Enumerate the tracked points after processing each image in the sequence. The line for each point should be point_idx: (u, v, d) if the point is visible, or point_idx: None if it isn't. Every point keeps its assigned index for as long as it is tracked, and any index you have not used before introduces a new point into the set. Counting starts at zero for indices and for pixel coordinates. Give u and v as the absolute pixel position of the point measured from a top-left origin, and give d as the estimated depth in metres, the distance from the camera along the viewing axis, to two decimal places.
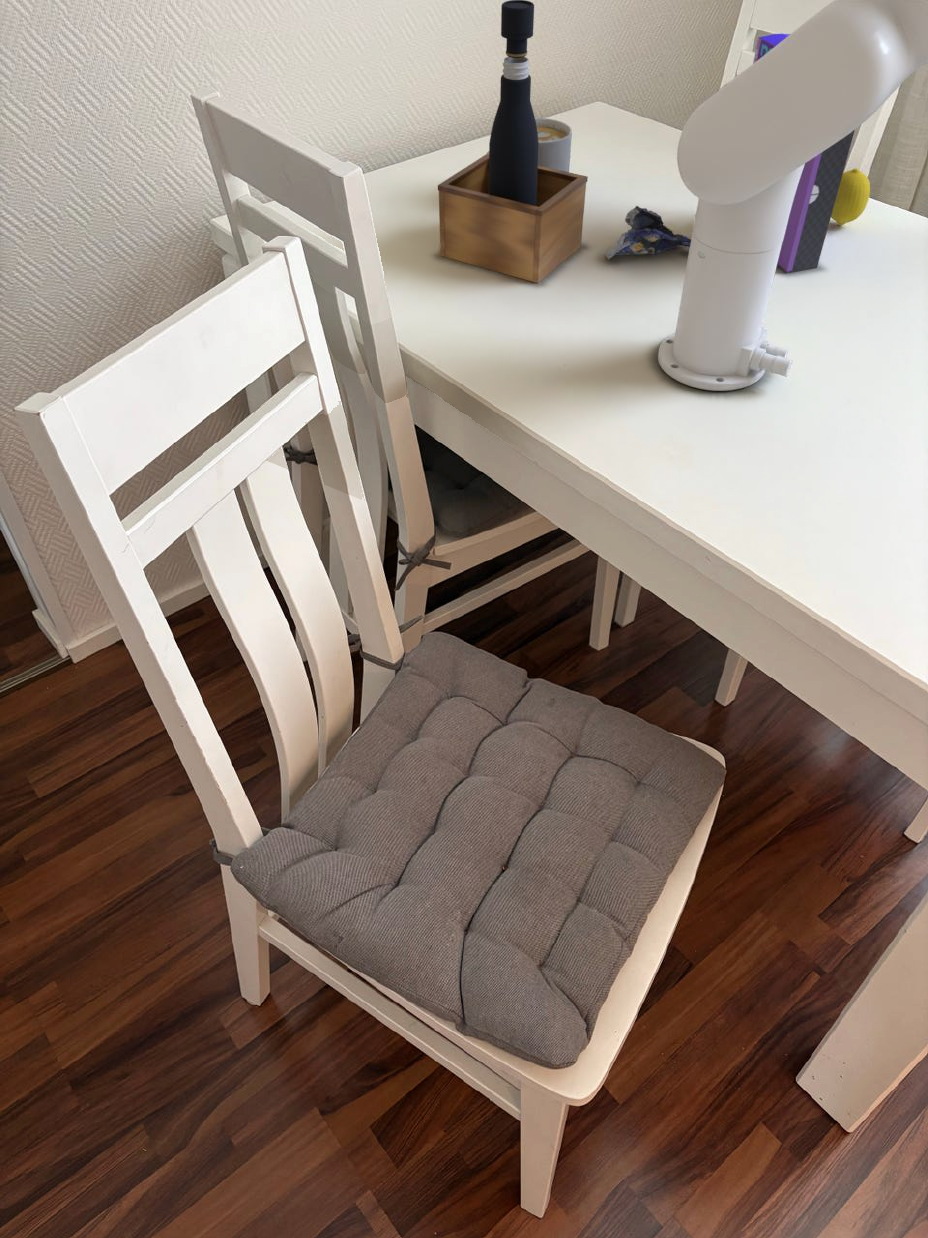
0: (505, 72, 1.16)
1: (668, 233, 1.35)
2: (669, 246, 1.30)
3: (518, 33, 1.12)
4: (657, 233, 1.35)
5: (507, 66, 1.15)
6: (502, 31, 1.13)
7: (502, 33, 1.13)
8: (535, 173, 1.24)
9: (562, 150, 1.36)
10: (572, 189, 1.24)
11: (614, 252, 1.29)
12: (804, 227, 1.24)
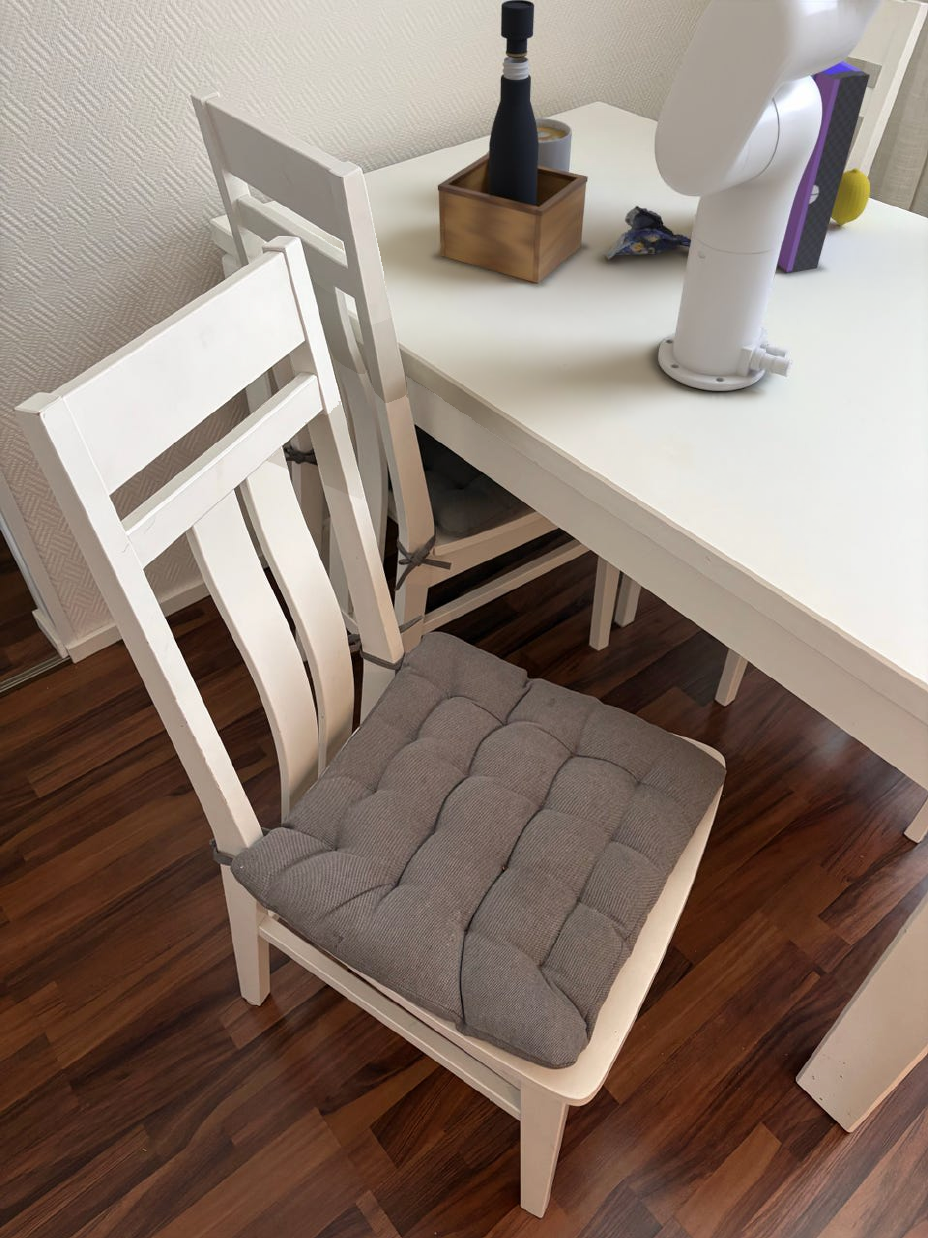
0: (505, 72, 1.16)
1: (668, 233, 1.35)
2: (669, 246, 1.30)
3: (518, 33, 1.12)
4: (657, 233, 1.35)
5: (507, 66, 1.15)
6: (502, 31, 1.13)
7: (502, 33, 1.13)
8: (535, 173, 1.24)
9: (562, 150, 1.36)
10: (572, 189, 1.24)
11: (614, 252, 1.29)
12: (804, 227, 1.24)
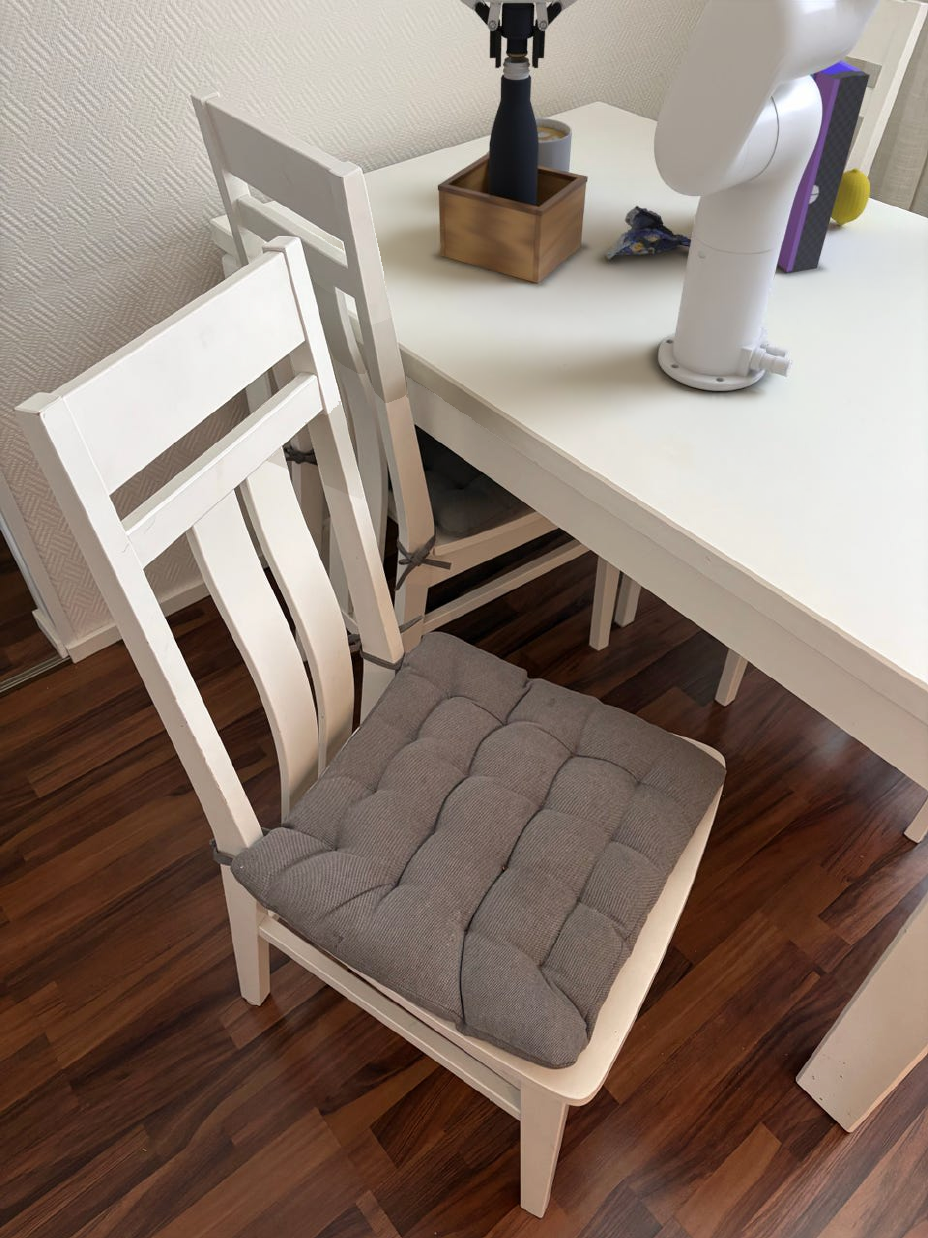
0: (505, 72, 1.16)
1: (668, 233, 1.35)
2: (669, 246, 1.30)
3: (518, 33, 1.12)
4: (657, 233, 1.35)
5: (507, 66, 1.15)
6: (502, 31, 1.13)
7: (502, 33, 1.13)
8: (535, 173, 1.24)
9: (562, 150, 1.36)
10: (572, 189, 1.24)
11: (614, 252, 1.29)
12: (804, 227, 1.24)
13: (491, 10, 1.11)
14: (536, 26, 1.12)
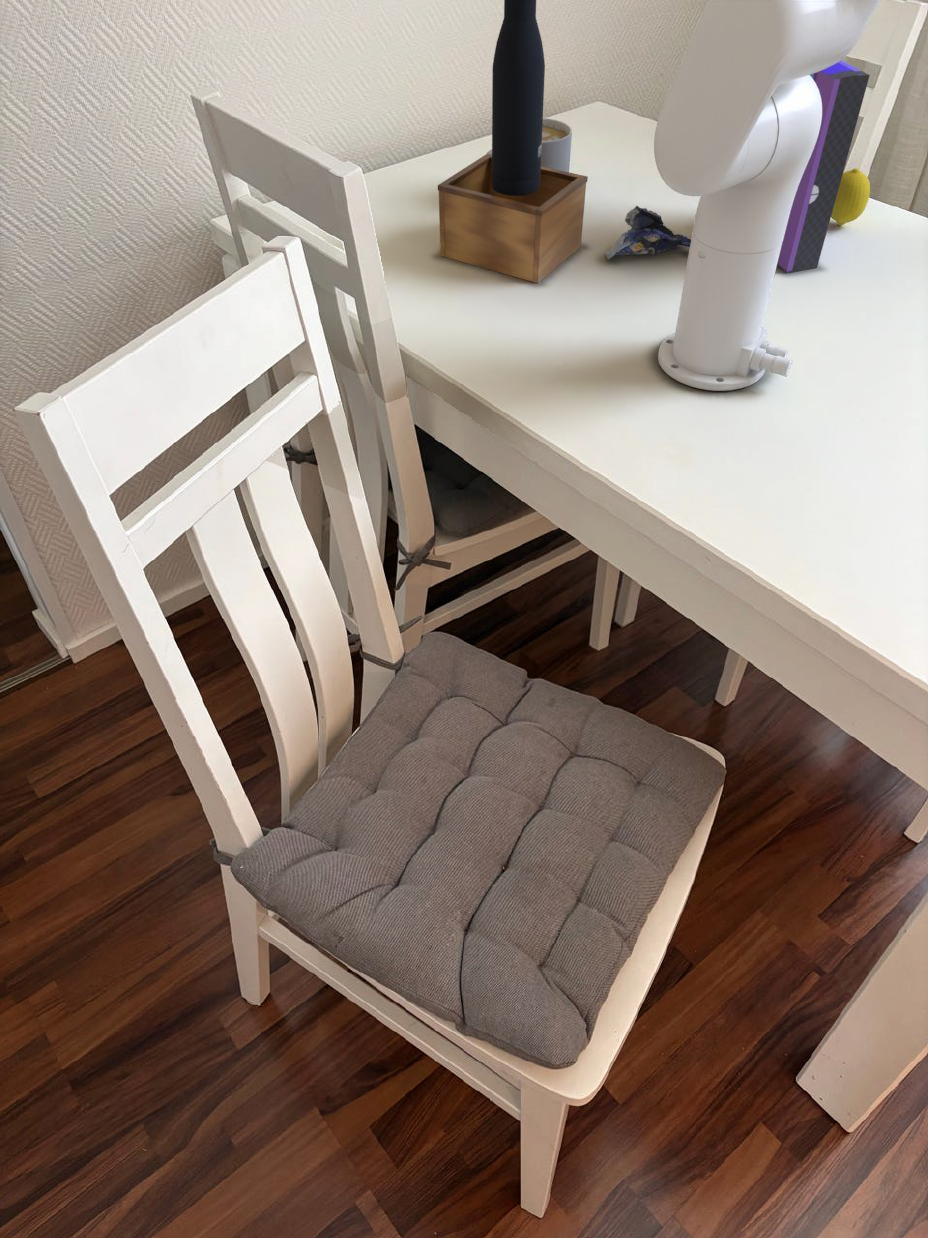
0: None
1: (668, 233, 1.35)
2: (669, 246, 1.30)
3: None
4: (657, 233, 1.35)
5: None
6: None
7: None
8: (541, 98, 1.17)
9: (562, 150, 1.36)
10: (572, 189, 1.24)
11: (614, 252, 1.29)
12: (804, 227, 1.24)
13: None
14: None
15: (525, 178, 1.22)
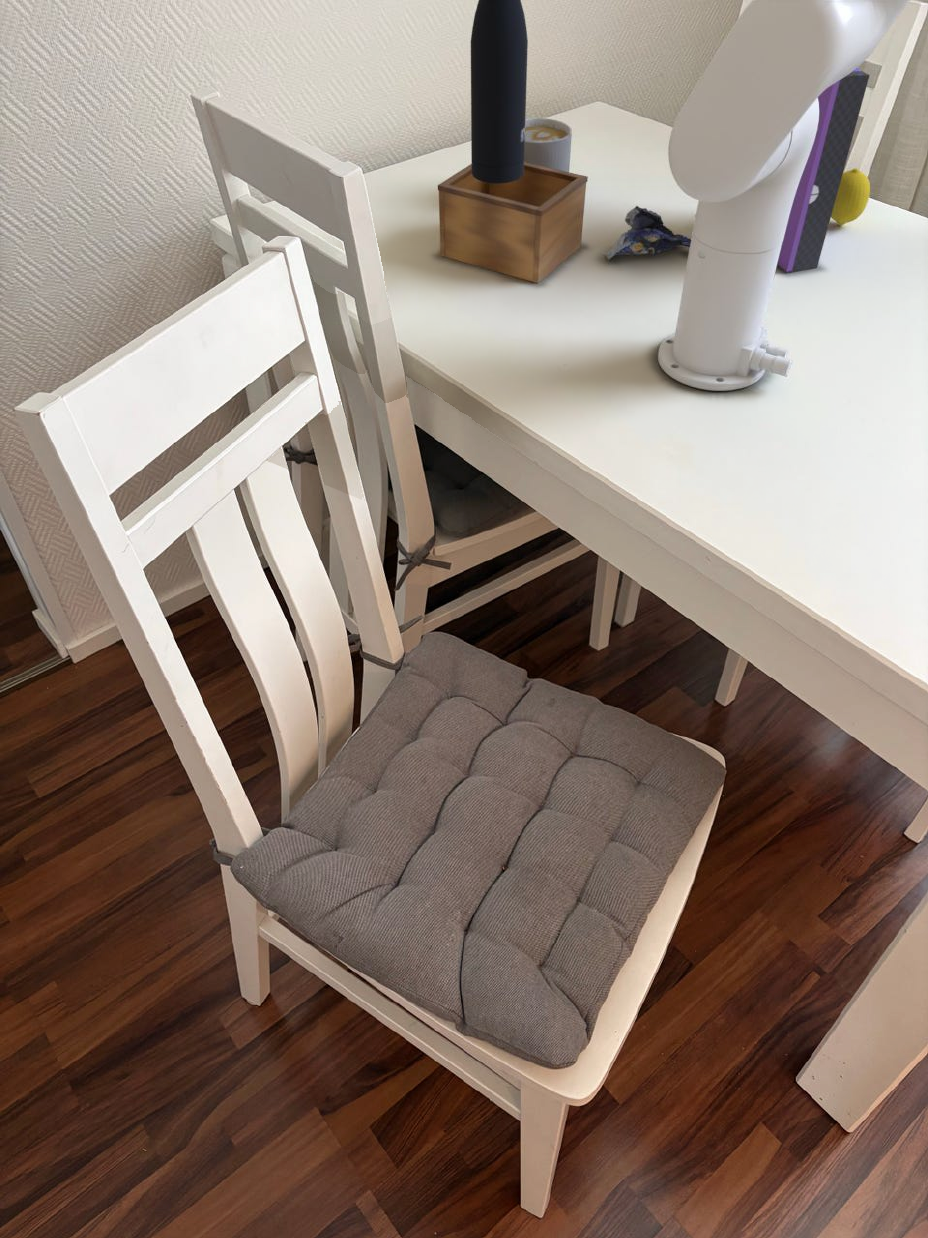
0: None
1: (668, 233, 1.35)
2: (669, 246, 1.30)
3: None
4: (657, 233, 1.35)
5: None
6: None
7: None
8: (524, 76, 1.07)
9: (562, 150, 1.36)
10: (572, 189, 1.24)
11: (614, 252, 1.29)
12: (804, 227, 1.24)
13: None
14: None
15: (507, 164, 1.13)
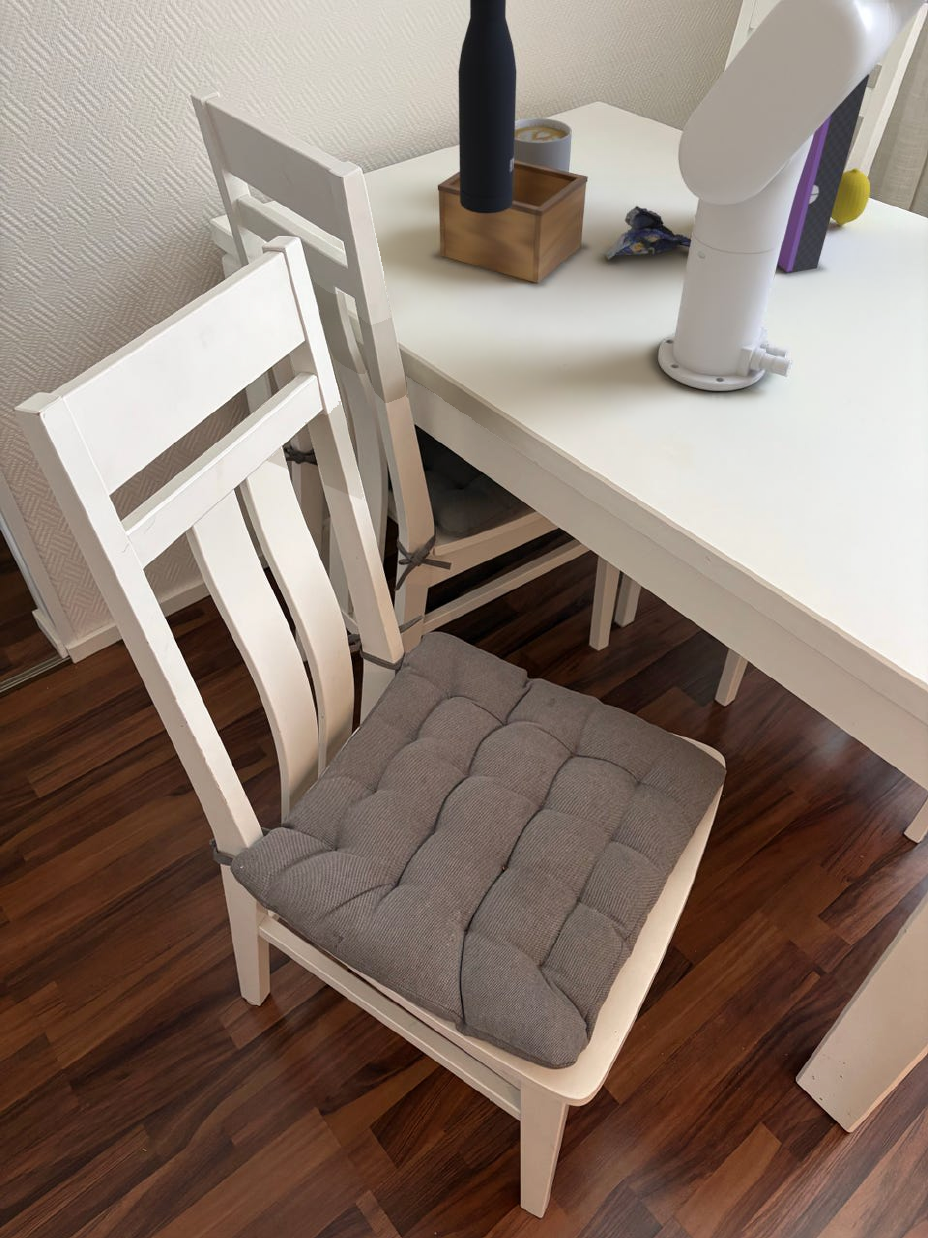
0: None
1: (668, 233, 1.35)
2: (669, 246, 1.30)
3: None
4: (657, 233, 1.35)
5: None
6: None
7: None
8: (512, 107, 1.06)
9: (562, 150, 1.36)
10: (572, 189, 1.24)
11: (614, 252, 1.29)
12: (804, 227, 1.24)
13: None
14: None
15: (496, 194, 1.11)
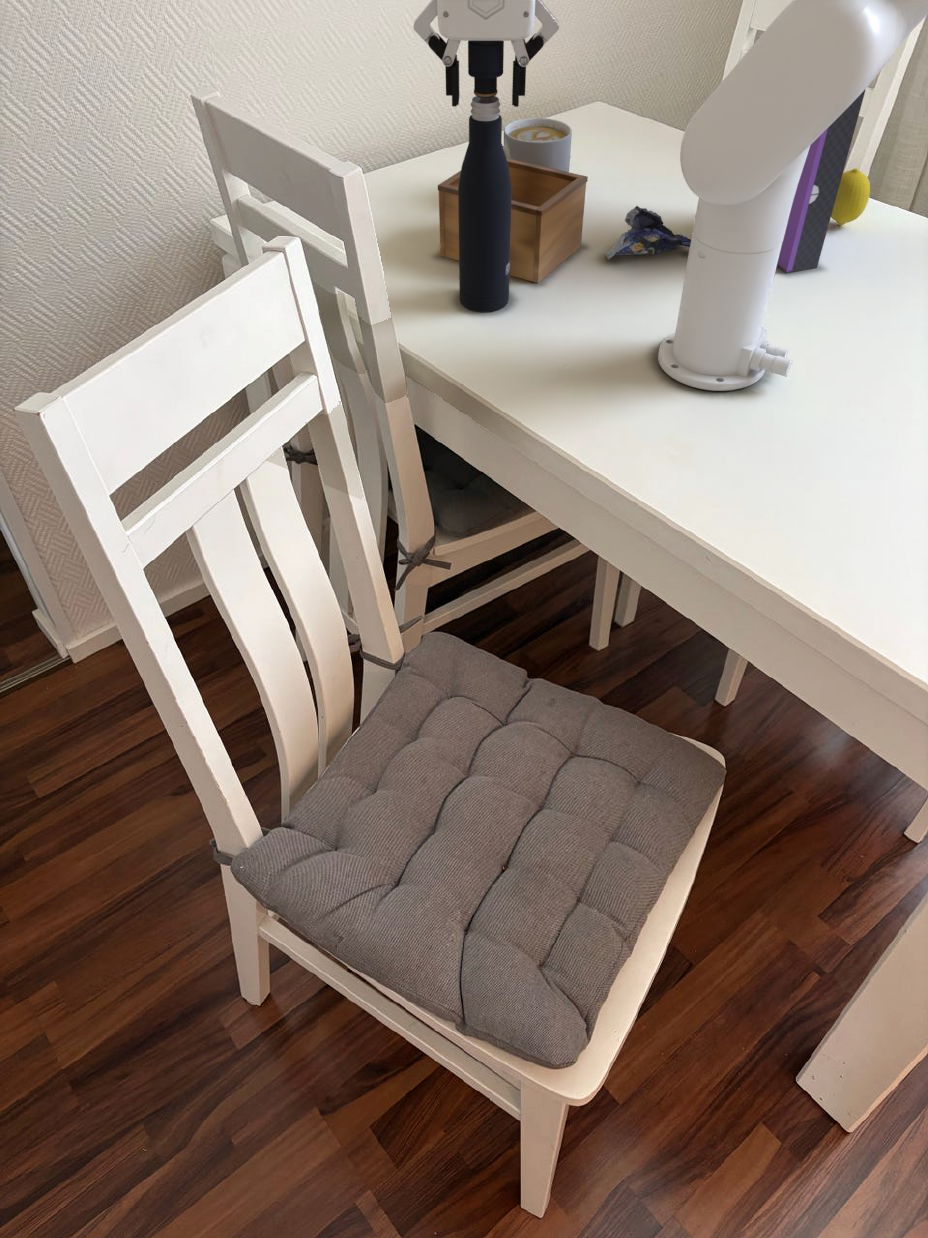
0: (473, 113, 1.06)
1: (668, 233, 1.35)
2: (669, 246, 1.30)
3: (486, 71, 1.02)
4: (657, 233, 1.35)
5: (475, 107, 1.05)
6: (469, 69, 1.03)
7: (469, 71, 1.03)
8: (508, 219, 1.14)
9: (562, 150, 1.36)
10: (572, 189, 1.24)
11: (614, 252, 1.29)
12: (804, 227, 1.24)
13: (449, 45, 1.01)
14: (516, 62, 1.02)
15: (493, 296, 1.20)
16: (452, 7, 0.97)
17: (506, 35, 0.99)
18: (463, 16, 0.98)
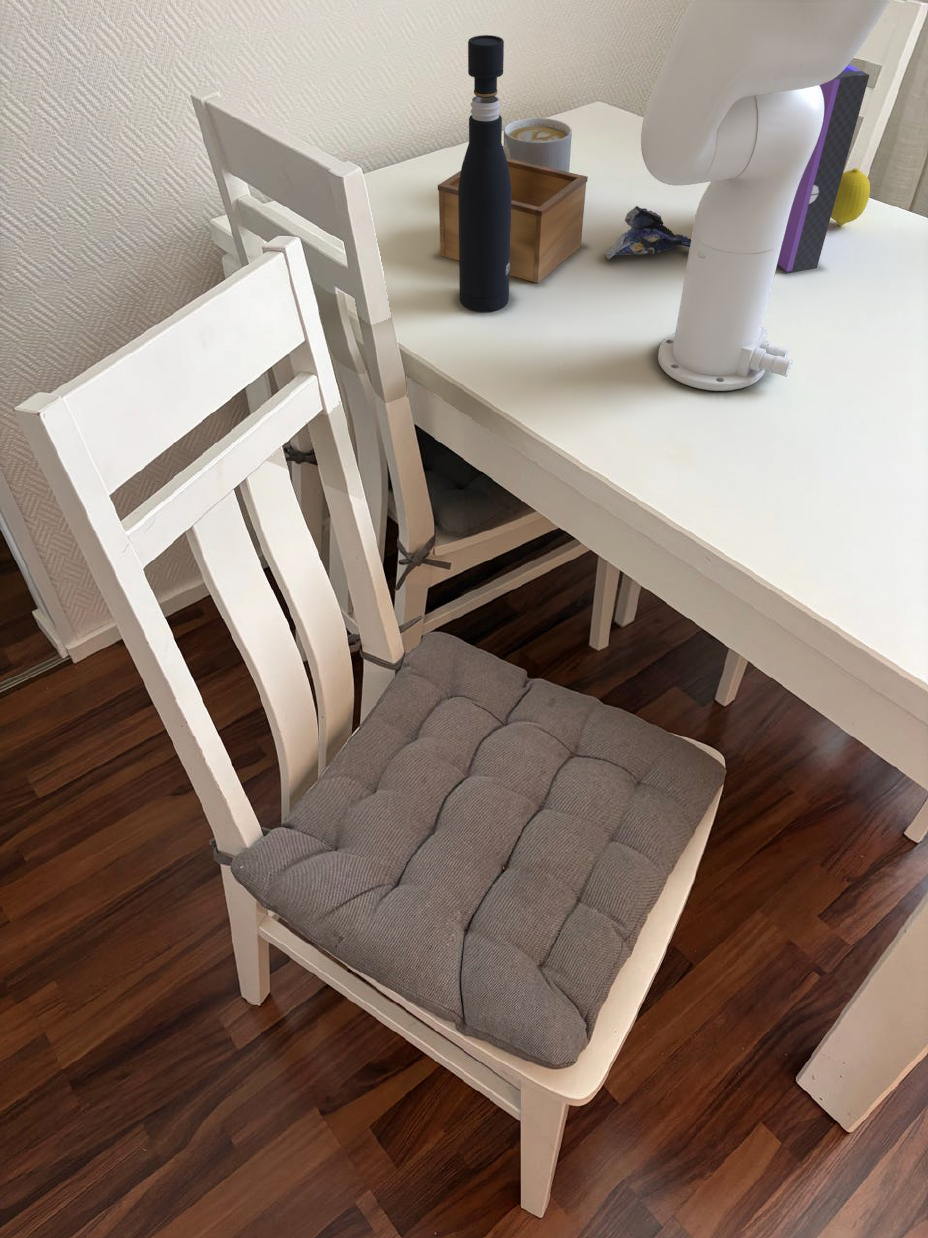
0: (473, 113, 1.06)
1: (668, 233, 1.35)
2: (669, 246, 1.30)
3: (486, 71, 1.02)
4: (657, 233, 1.35)
5: (475, 107, 1.05)
6: (469, 69, 1.03)
7: (469, 71, 1.03)
8: (508, 219, 1.14)
9: (562, 150, 1.36)
10: (572, 189, 1.24)
11: (614, 252, 1.29)
12: (804, 227, 1.24)
13: None
14: None
15: (493, 296, 1.20)
16: None
17: None
18: None
